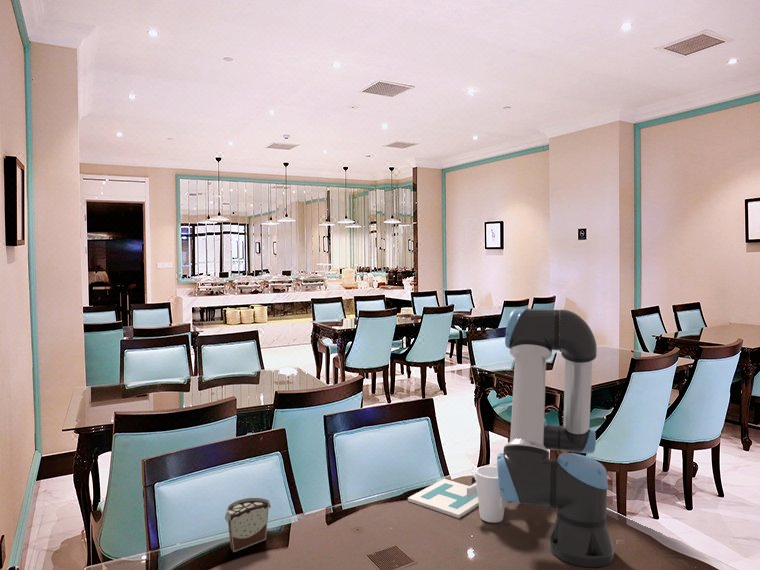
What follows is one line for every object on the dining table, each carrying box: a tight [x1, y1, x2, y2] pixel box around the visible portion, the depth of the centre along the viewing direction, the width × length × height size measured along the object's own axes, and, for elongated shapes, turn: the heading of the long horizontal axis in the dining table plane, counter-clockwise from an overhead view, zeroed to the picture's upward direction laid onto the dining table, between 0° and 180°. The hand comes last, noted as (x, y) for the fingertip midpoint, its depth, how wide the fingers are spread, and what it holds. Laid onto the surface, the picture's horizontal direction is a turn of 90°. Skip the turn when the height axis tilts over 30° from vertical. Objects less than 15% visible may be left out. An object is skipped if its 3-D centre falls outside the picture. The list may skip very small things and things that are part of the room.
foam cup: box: [474, 465, 506, 523], centre depth 157 cm, size 10×9×13 cm
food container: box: [224, 497, 272, 553], centre depth 143 cm, size 12×6×10 cm, turn 135°
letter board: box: [407, 478, 479, 519], centre depth 171 cm, size 18×20×1 cm
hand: (484, 497), depth 154 cm, fingers closed on foam cup, 9 cm apart
